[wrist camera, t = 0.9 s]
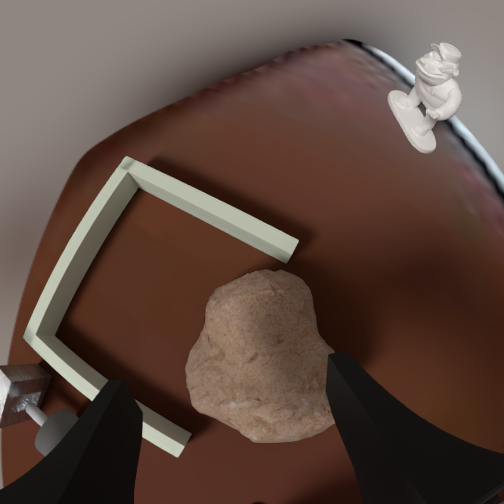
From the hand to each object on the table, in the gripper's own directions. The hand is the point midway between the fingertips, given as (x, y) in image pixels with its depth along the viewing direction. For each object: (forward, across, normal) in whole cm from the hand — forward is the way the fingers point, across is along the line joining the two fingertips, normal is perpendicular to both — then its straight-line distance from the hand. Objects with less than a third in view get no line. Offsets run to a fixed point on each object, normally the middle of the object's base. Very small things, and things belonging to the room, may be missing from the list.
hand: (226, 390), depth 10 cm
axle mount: (+8, +20, +10) cm, 24 cm away
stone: (+10, -1, +9) cm, 14 cm away
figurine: (+24, -22, -8) cm, 34 cm away
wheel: (+6, +17, +12) cm, 21 cm away
